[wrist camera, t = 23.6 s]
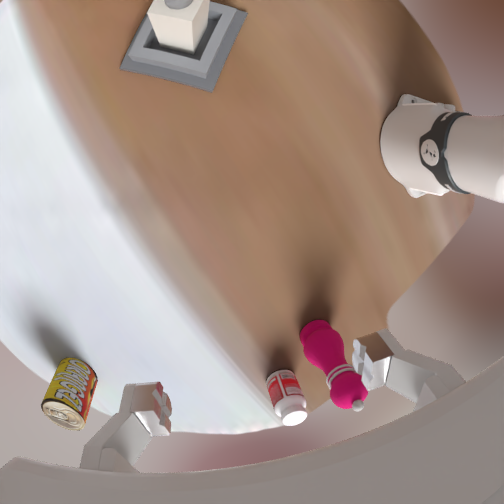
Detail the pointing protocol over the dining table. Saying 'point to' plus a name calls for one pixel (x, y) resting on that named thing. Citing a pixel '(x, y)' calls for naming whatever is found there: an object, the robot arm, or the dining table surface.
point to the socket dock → (184, 64)
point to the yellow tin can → (70, 394)
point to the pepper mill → (333, 364)
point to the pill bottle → (287, 397)
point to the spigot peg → (179, 23)
